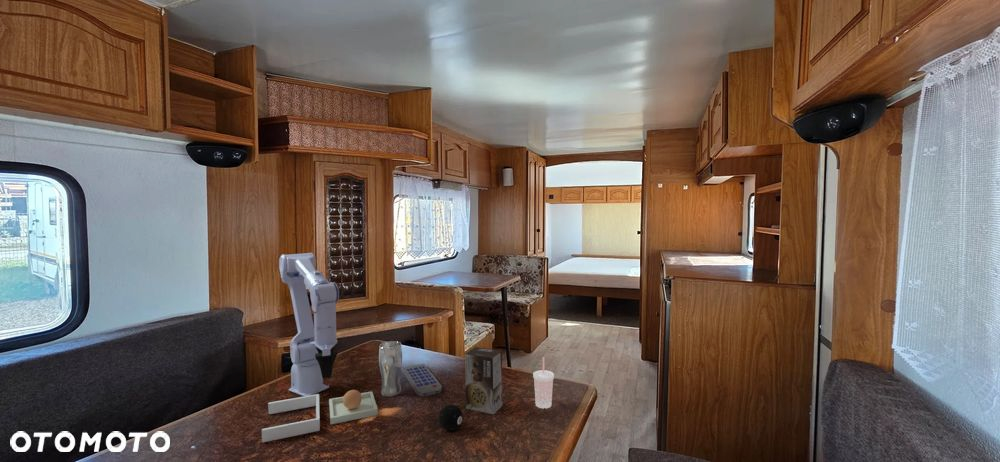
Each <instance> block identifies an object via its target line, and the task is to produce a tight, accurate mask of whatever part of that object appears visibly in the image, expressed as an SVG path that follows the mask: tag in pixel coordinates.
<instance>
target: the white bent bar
mask: <svg viewBox="0 0 1000 462" xmlns="http://www.w3.org/2000/svg"><path fill="white" fill-rule="evenodd" d="M267 407H268V415H273V414H279V413H285V412H291V411H294V410H296V411H297V410H300V409H307V408H311V407H315V418H311V419H307V420H306V419H305V420H302V421H296V422H292V423H290V422H289V423H286V424H285V423H284V424H280V425H276V426H270V427H266V428H261V443H262V444H263V443H266V442H267V443H268V442H271V441H276V440H282V439H285V438H290V437H291V438H292V437H296V436H301V435H304V434H305V435H306V434H309V433H315V432H319V431H320V429H321V427H320V426H321V423H320V422H321V420H320V414H321V413H320V394H319V393H316V394H313V395H310V396H299V397H294V398H288V399H282V400H276V401H270V402H268V403H267Z"/></svg>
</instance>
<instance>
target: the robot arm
mask: <svg viewBox="0 0 1000 462" xmlns="http://www.w3.org/2000/svg"><path fill="white" fill-rule="evenodd" d="M316 260H317V259H316V256H315V255H314V253H312V252H308V253H307V252H306V253H293V254H283V253H282V254H281V255H280V257H279V260H278V268H279V273H280V278H281V281H282V283H284V284H286V285H288V289H289V292H290V298H291V302H292V308H293V313H294V319H295V324H296V329H297V333H296V335H294V337H293V338H292V339H291V340H290V342H289V351H290V352H289V353H290V355H289V356H290V359H291V363H292V366H291V369H290V383H291V387H290V388H289V389H288V391H289V392H292V393H294V394H297V395H299V396H301V397H304V396H310V395H315V394H319V393H320V392H323V391H324V390H328V389H329V388H330V386H329V385H326V384H324V379H330V378H331V377H332V374H333V367H334V364H335V361H336V358H337V357H338V351H334V349H335V347H336V345H337V344H338V338H337V311H336V310H337V308H336V307H337V303H338V301H339V299H340V290H339V287H338V285H337V283H336V282H334V281H333V282H332V281H329V280H328V279H327V277H326V276H325V275H324V274H323V272H321V271H320V270H317V269H316V265H317V261H316ZM308 291H309V294H308ZM308 295H310V301H309V296H308ZM310 302H311V305H310ZM311 309H312V311H313V315H312V312H311Z"/></svg>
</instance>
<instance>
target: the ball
mask: <svg viewBox="0 0 1000 462" xmlns="http://www.w3.org/2000/svg"><path fill="white" fill-rule="evenodd" d="M360 393H361V392H360V391H359V390H357V389H351V390H348V391H347V392H345V394H344V395H343V396H342V397H343V404H344V406H345V407H346V408H348V409H354V408H356V407H358V406H359V405H360V403H361V400H362V396H361V394H360Z"/></svg>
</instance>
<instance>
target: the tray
mask: <svg viewBox="0 0 1000 462" xmlns="http://www.w3.org/2000/svg"><path fill="white" fill-rule="evenodd" d="M360 394H361V396H362V400H361V403H360V405H359V406H358V407H356V408H354V409H348V408H346V407H345V406H344V404H343V397H344V396H340V397H332V398H329V399H328V405H329V406H328V407H329V418H330V420H329V421H330V422H329V423H330V425H336V424H340V423H345V422H349V421H354V420H361V419H364V418H369V417H375V416H378V415H379V413H378V412H379V410H378V409H379V408H378V405H377V402H376V400H375V396H374V393H373V390H372V391H368V392H367V391H366V392H360Z"/></svg>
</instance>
